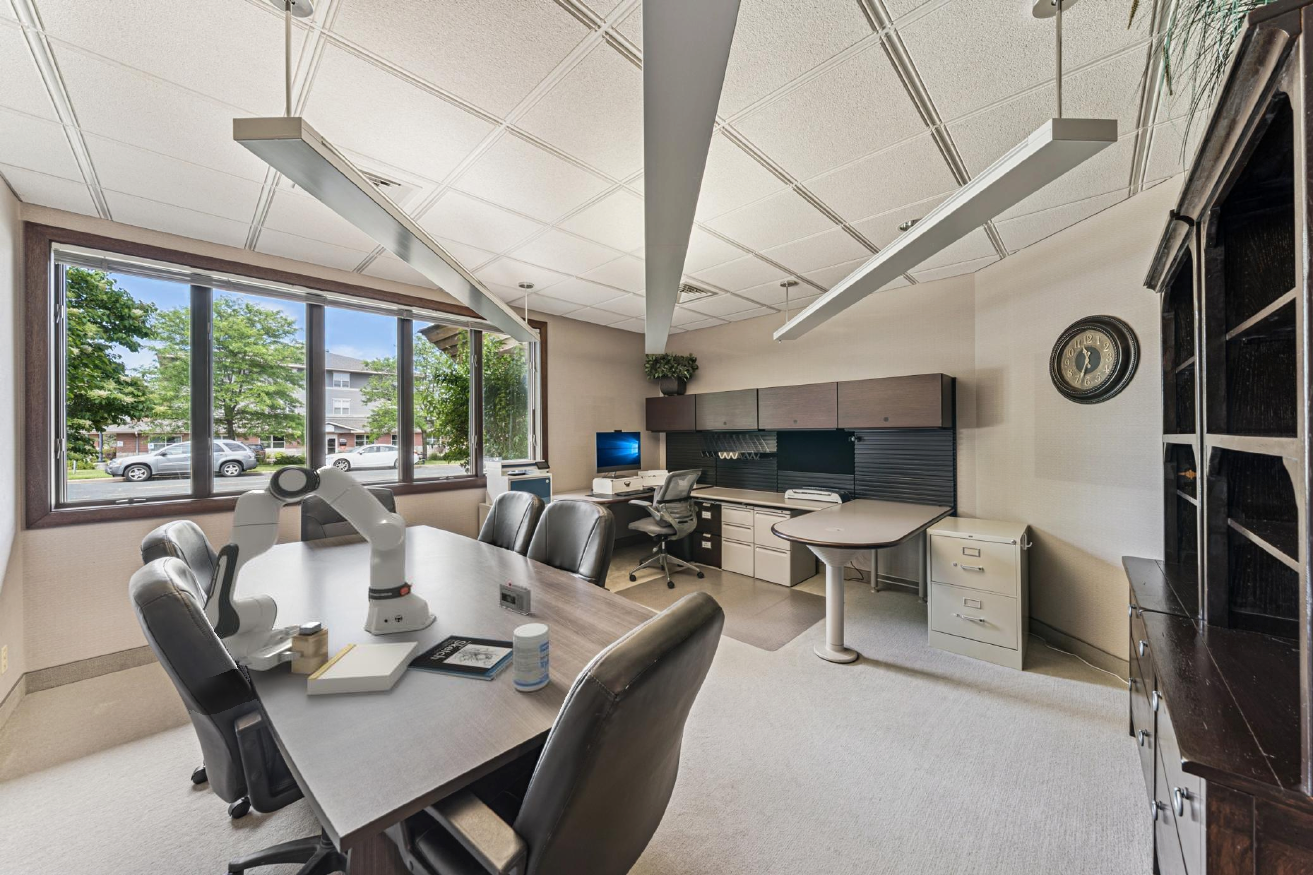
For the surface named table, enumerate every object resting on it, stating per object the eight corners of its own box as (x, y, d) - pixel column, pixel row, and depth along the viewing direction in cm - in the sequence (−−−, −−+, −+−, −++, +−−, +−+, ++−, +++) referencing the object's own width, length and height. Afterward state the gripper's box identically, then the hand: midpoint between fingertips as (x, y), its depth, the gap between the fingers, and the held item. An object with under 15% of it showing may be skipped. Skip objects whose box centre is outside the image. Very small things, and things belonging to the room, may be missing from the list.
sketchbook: (451, 639, 156) (451, 633, 156) (532, 648, 149) (532, 642, 149) (401, 670, 135) (401, 662, 135) (493, 682, 128) (493, 675, 128)
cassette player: (499, 606, 184) (499, 581, 184) (505, 604, 186) (505, 579, 186) (524, 615, 175) (524, 589, 175) (530, 613, 177) (530, 587, 177)
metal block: (310, 634, 137) (310, 622, 137) (321, 635, 136) (321, 622, 136) (299, 639, 133) (299, 627, 133) (310, 640, 133) (310, 627, 133)
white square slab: (418, 654, 143) (418, 640, 143) (389, 690, 123) (389, 673, 123) (348, 658, 141) (348, 644, 141) (307, 695, 121) (307, 678, 121)
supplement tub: (549, 690, 123) (549, 635, 123) (511, 695, 121) (511, 638, 121) (549, 672, 132) (549, 621, 132) (514, 676, 130) (514, 624, 130)
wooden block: (310, 662, 138) (310, 627, 138) (328, 663, 137) (328, 628, 137) (291, 672, 132) (291, 635, 132) (310, 674, 131) (310, 637, 131)
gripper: (234, 651, 126) (278, 655, 124) (302, 622, 146) (341, 624, 144) (234, 675, 126) (278, 678, 124) (302, 641, 146) (341, 644, 144)
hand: (312, 649), depth 135 cm, fingers closed on wooden block, 6 cm apart
